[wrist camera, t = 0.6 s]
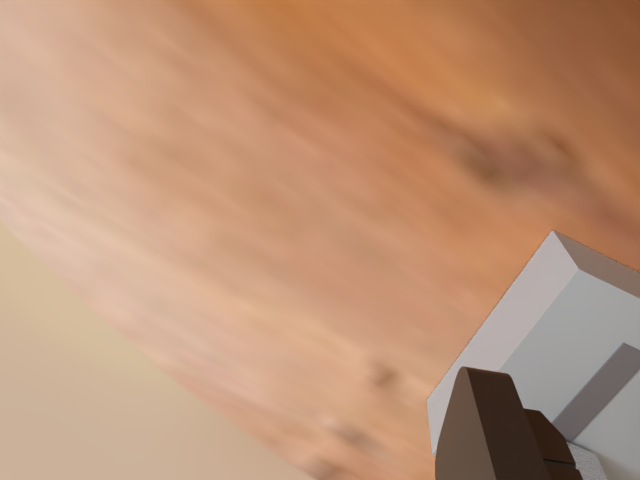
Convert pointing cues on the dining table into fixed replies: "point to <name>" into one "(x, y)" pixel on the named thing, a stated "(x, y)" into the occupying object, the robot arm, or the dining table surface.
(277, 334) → the dining table surface
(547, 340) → the console
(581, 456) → the slider
